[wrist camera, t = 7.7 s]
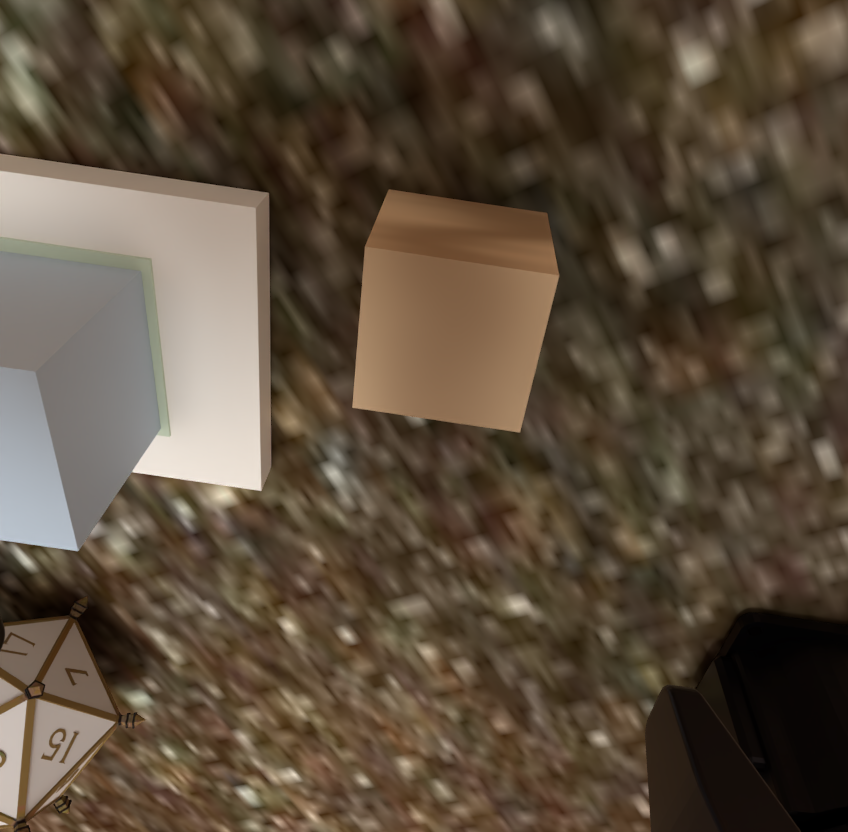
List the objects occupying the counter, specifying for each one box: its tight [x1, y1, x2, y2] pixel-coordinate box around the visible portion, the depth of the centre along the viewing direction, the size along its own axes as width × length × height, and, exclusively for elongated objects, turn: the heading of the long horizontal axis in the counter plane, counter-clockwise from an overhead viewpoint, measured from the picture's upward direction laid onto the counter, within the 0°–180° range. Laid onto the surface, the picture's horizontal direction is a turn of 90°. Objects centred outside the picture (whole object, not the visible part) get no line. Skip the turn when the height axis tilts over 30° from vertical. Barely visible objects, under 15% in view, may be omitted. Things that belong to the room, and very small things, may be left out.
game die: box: [0, 596, 145, 832], centre depth 26 cm, size 9×8×10 cm
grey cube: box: [0, 251, 161, 551], centre depth 17 cm, size 5×5×5 cm
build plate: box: [0, 154, 271, 491], centre depth 20 cm, size 11×9×1 cm
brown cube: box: [352, 189, 559, 432], centre depth 17 cm, size 4×4×4 cm
